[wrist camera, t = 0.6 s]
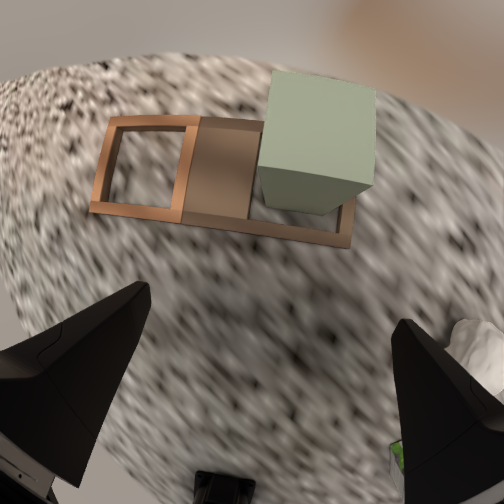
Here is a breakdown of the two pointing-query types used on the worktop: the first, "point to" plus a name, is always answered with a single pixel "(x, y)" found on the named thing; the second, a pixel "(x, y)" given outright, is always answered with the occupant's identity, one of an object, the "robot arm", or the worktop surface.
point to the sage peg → (316, 142)
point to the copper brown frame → (208, 179)
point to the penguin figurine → (479, 352)
